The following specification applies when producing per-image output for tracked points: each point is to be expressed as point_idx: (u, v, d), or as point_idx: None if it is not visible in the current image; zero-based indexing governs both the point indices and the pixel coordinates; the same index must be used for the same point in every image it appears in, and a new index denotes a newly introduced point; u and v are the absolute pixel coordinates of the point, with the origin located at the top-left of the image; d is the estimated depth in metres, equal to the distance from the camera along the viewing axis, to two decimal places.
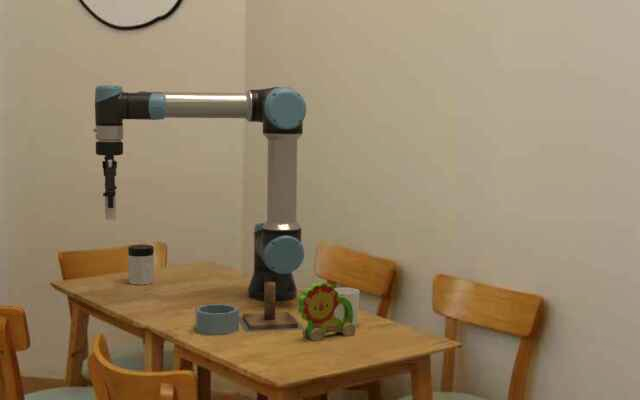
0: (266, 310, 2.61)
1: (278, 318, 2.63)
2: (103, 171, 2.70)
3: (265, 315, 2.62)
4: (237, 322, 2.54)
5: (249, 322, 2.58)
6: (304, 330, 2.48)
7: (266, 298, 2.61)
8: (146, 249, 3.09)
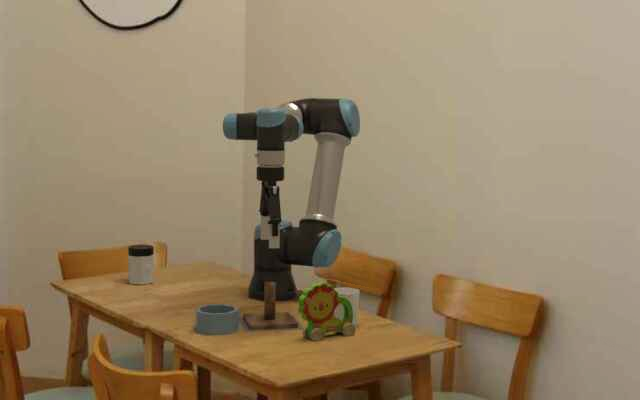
0: (266, 310, 2.61)
1: (278, 318, 2.63)
2: (262, 197, 2.60)
3: (265, 315, 2.62)
4: (237, 322, 2.54)
5: (249, 322, 2.58)
6: (304, 330, 2.48)
7: (266, 298, 2.61)
8: (146, 249, 3.09)
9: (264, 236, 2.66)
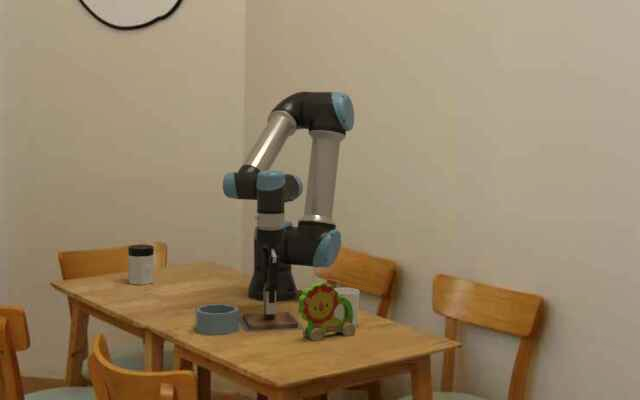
0: None
1: (278, 318, 2.63)
2: (263, 260, 2.61)
3: (265, 315, 2.62)
4: (237, 322, 2.54)
5: (249, 322, 2.58)
6: (304, 330, 2.48)
7: None
8: (146, 249, 3.09)
9: None
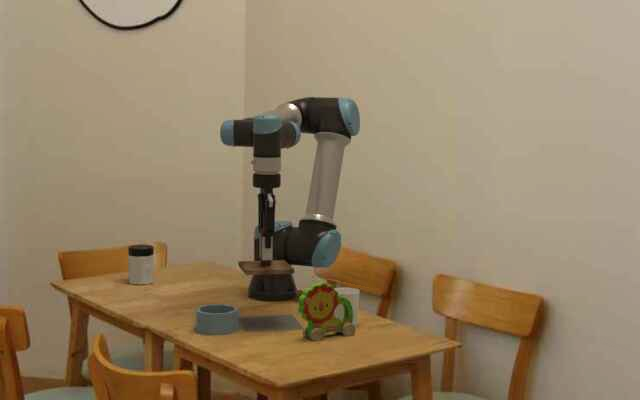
0: None
1: (274, 265, 2.60)
2: (259, 206, 2.59)
3: (261, 261, 2.59)
4: (237, 322, 2.54)
5: (245, 268, 2.56)
6: (304, 330, 2.48)
7: None
8: (146, 249, 3.09)
9: None
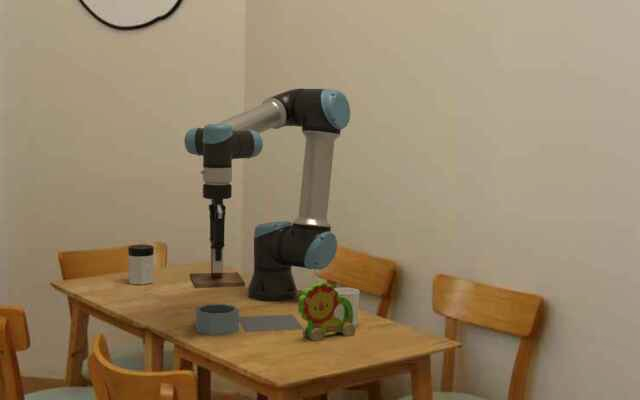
0: None
1: (226, 277, 2.54)
2: (210, 217, 2.52)
3: (212, 274, 2.53)
4: (237, 322, 2.54)
5: (194, 280, 2.49)
6: (304, 330, 2.48)
7: None
8: (146, 249, 3.09)
9: None
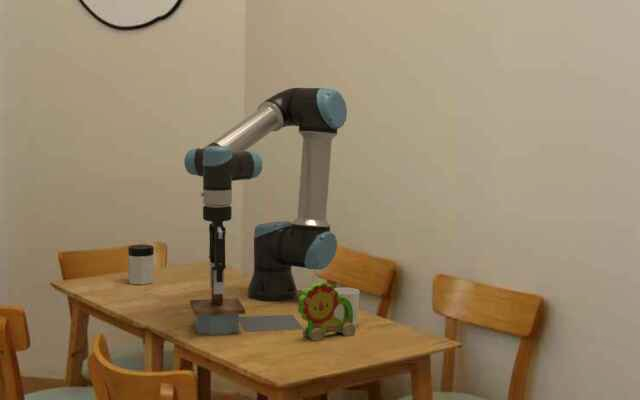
0: (213, 296, 2.53)
1: (226, 304, 2.55)
2: (210, 238, 2.54)
3: (212, 301, 2.54)
4: (237, 322, 2.54)
5: (195, 308, 2.50)
6: (304, 330, 2.48)
7: (213, 283, 2.53)
8: (146, 249, 3.09)
9: None
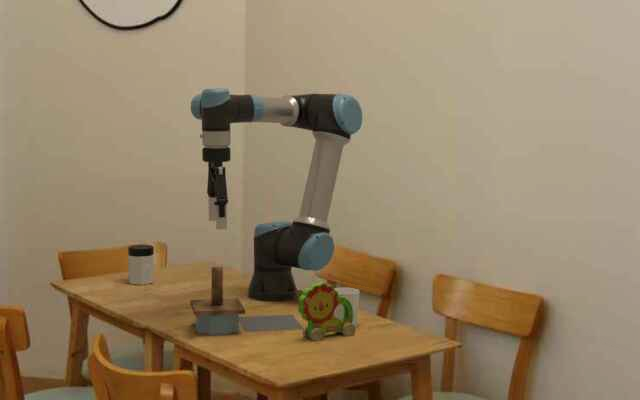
0: (213, 296, 2.53)
1: (226, 304, 2.55)
2: (209, 178, 2.59)
3: (212, 301, 2.54)
4: (237, 322, 2.54)
5: (195, 308, 2.50)
6: (304, 330, 2.48)
7: (213, 283, 2.53)
8: (146, 249, 3.09)
9: (213, 218, 2.64)
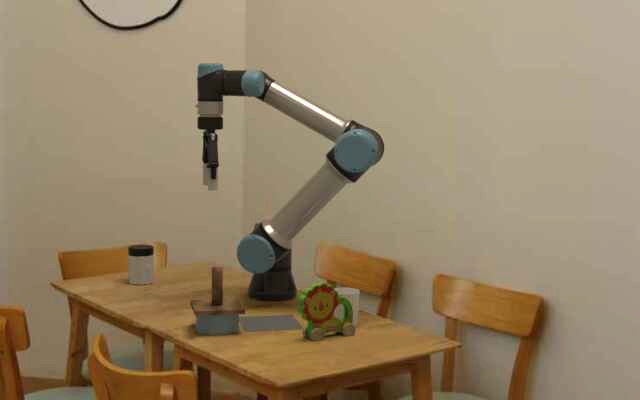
0: (213, 296, 2.53)
1: (226, 304, 2.55)
2: (203, 145, 2.84)
3: (212, 301, 2.54)
4: (237, 322, 2.54)
5: (195, 308, 2.50)
6: (304, 330, 2.48)
7: (213, 283, 2.53)
8: (146, 249, 3.09)
9: (206, 182, 2.89)
